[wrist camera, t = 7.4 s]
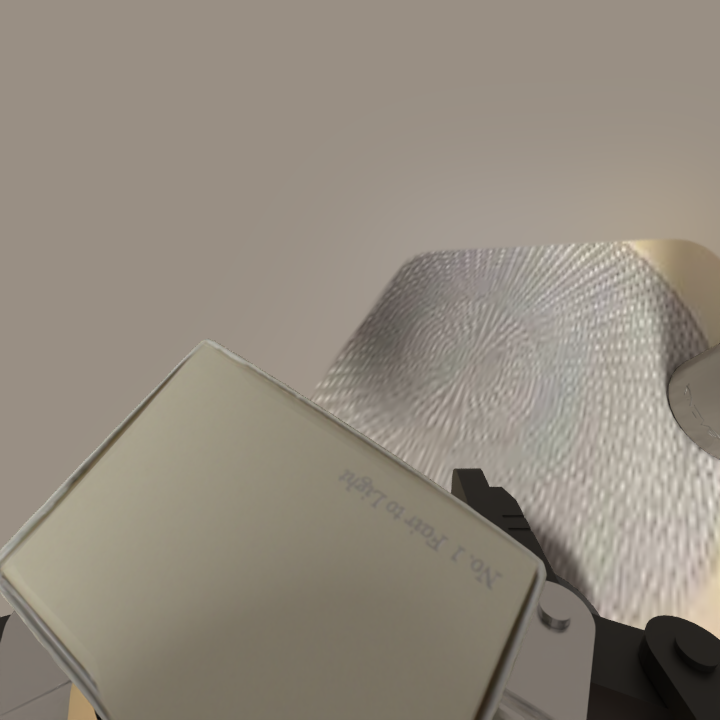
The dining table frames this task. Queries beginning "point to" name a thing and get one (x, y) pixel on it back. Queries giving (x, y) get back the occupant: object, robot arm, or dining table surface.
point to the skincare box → (266, 567)
